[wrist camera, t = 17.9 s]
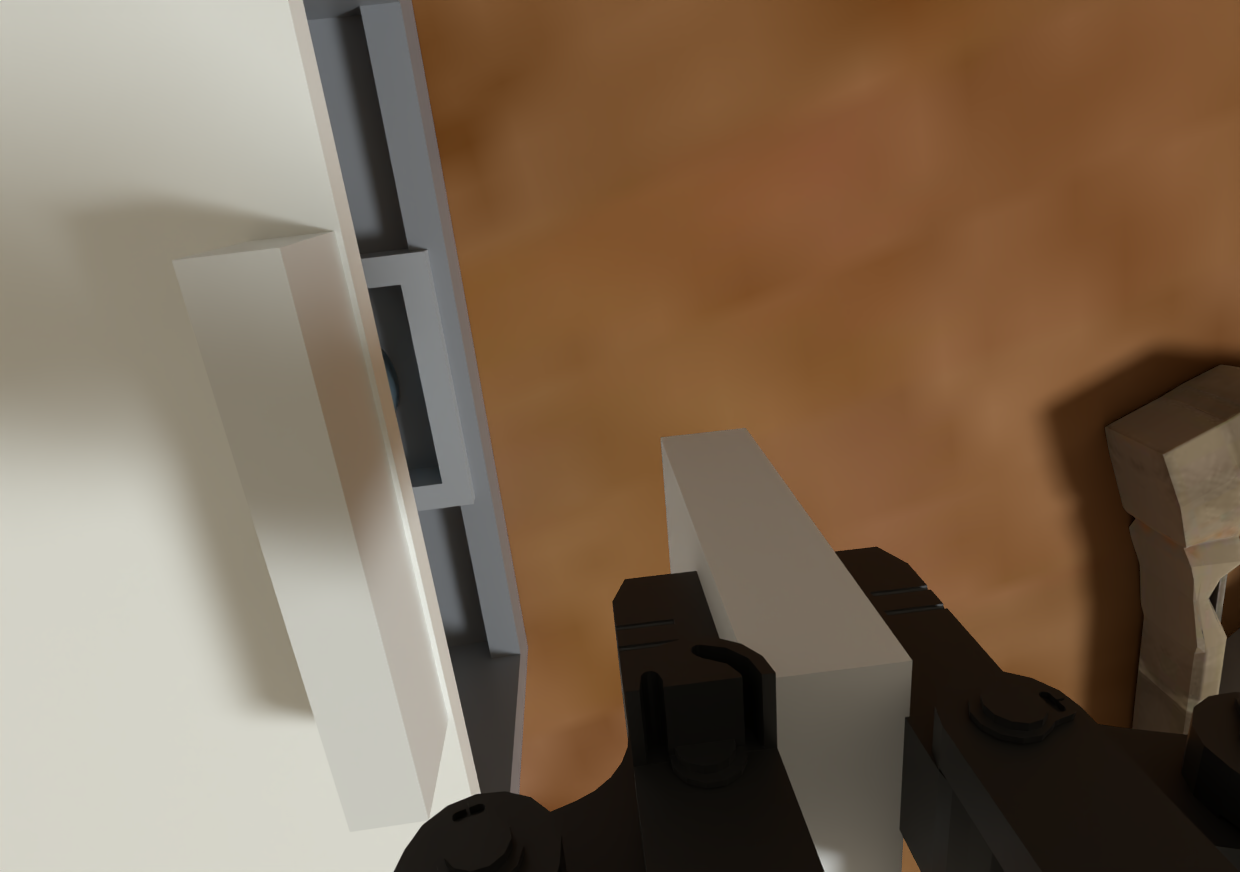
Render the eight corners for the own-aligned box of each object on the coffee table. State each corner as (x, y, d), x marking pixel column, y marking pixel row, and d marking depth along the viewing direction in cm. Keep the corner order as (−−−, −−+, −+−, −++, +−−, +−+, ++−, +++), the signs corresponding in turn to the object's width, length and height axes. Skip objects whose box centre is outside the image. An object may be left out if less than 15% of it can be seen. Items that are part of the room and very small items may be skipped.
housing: (-210, 30, 20) (-851, -80, 11) (405, -34, 20) (284, -190, 11) (89, 708, 27) (-138, 973, 18) (528, 648, 28) (514, 876, 19)
